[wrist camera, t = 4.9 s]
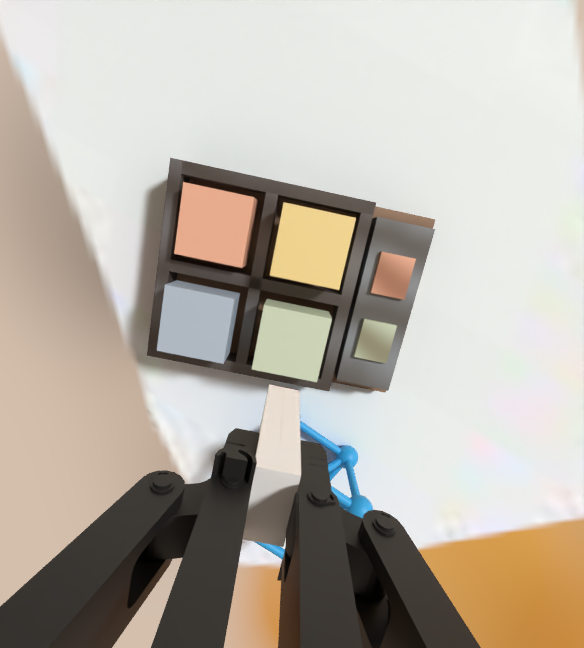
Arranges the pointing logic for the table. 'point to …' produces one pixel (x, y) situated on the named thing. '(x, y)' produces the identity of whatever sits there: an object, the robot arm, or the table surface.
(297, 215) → the mustard key
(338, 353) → the keypad
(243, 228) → the terracotta key
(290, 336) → the sage key
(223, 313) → the slate key
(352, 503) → the molecular structure
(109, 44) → the table surface
